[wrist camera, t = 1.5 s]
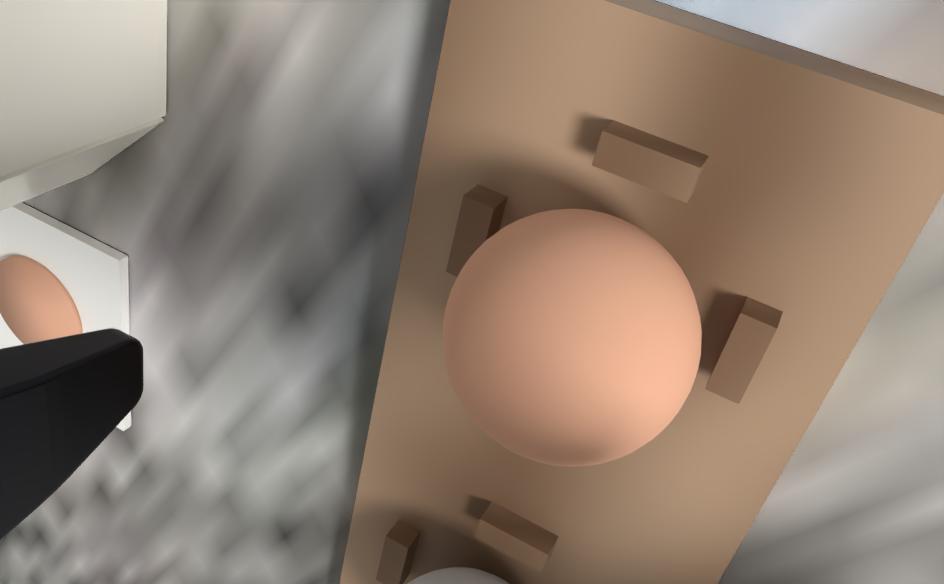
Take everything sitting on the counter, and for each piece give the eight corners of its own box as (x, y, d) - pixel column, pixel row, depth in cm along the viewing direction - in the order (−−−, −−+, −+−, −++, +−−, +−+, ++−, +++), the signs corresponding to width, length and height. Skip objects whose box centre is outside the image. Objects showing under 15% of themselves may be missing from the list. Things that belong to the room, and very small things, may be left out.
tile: (127, 256, 22) (112, 263, 22) (131, 425, 25) (118, 435, 25) (-41, 170, 24) (-57, 176, 23) (-17, 341, 27) (-32, 348, 27)
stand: (979, 108, 12) (982, 141, 11) (610, 754, 22) (591, 810, 21) (486, -56, 14) (441, -45, 13) (350, 601, 24) (318, 643, 23)
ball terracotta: (763, 229, 13) (709, 353, 10) (677, 416, 16) (611, 566, 12) (534, 138, 14) (420, 226, 11) (484, 326, 17) (376, 443, 14)
